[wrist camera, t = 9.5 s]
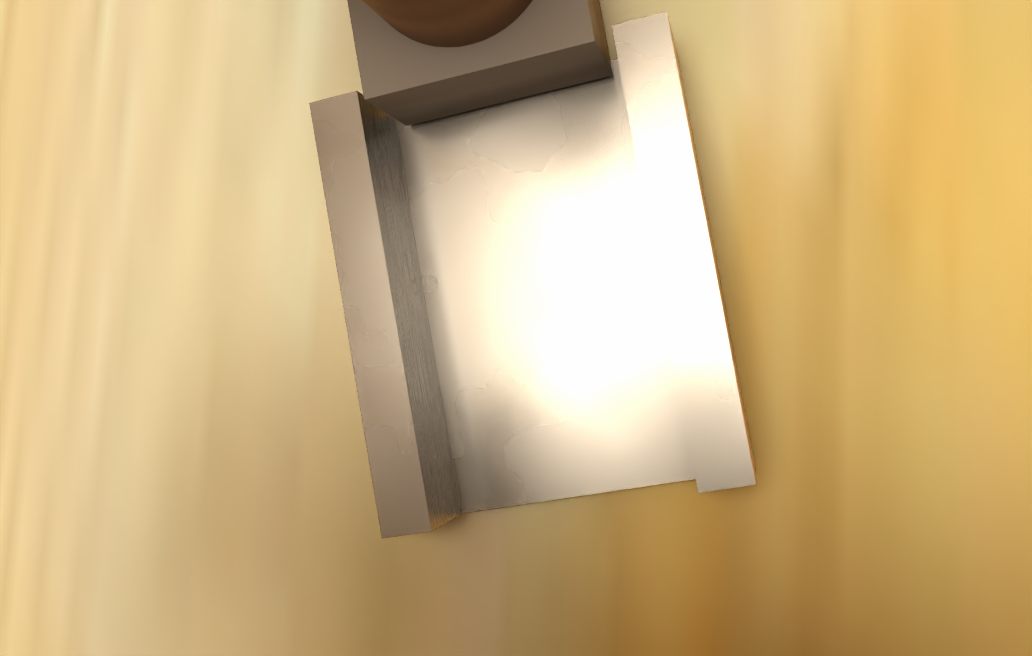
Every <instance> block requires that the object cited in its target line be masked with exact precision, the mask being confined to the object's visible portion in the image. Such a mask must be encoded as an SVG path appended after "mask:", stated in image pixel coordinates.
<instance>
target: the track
mask: <svg viewBox="0 0 1032 656" xmlns="http://www.w3.org/2000/svg"><path fill="white" fill-rule="evenodd" d="M612 30H613V36H614V41H615V46H616V52H617V57H618V59H614V60H610V63H611V69H612V74H613V76H609V77H605V78H601V79H596V80H592V81H588V82H584V83H580V84H576V85H572V86H568V87H564V88H560V89H556V90H552V91H548V92H543V93H539V94H535V95H531V96H527V97H523V98H519V99H515V100H511V101H507V102H503V103H499V104H495V105H490V106H486V107H482V108H478V109H474V110H470V111H466V112H462V113H458V114H454V115H450V116H446V117H442V118H437V119H433V120H429V121H425V122H421V123H417V124H413V125H409V126H406V125H404V124H402V123H401V122H399V121H398V120H396V119H394V118H393V117H391V116H390V115H388V114H386V113H385V112H383V111H382V110H380V109H378V108H377V107H375V106H374V105H372V104H370V103H369V102H367V101H366V100H364V95H362V94H361V93H359V92H358V91H355V92H351V93H347V94H343V95H339V96H335V97H331V98H327V99H324V100H320V101H316V102H312V103H309V104H310V110H311V116H312V122H313V128H314V134H315V140H316V146H317V152H318V158H319V164H320V170H321V176H322V182H323V188H324V194H325V200H326V206H327V212H328V218H329V224H330V230H331V236H332V242H333V248H334V254H335V260H336V266H337V272H338V278H339V284H340V290H341V296H342V302H343V308H344V314H345V320H346V326H347V332H348V338H349V344H350V350H351V356H352V362H353V368H354V374H355V380H356V386H357V392H358V398H359V404H360V410H361V416H362V422H363V428H364V434H365V440H366V446H367V452H368V458H369V464H370V470H371V476H372V482H373V488H374V494H375V500H376V506H377V512H378V518H379V524H380V530H381V536H382V538H389V537H396V536H403V535H410V534H417V533H424V532H431V531H433V530H435V529H436V528H438V527H440V526H441V525H443V524H445V523H447V522H448V521H450V520H452V519H453V518H455V517H457V516H458V515H460V514H462V513H468V512H475V511H482V510H488V509H495V508H502V507H509V506H516V505H522V504H529V503H536V502H543V501H550V500H556V499H563V498H570V497H577V496H584V495H590V494H597V493H604V492H611V491H618V490H624V489H631V488H638V487H645V486H651V485H658V484H665V483H672V482H679V481H685V480H692V479H696V484H697V489H698V493H702V492H709V491H716V490H723V489H729V488H736V487H743V486H750V485H756V468H755V463H754V457H753V452H752V447H751V442H750V436H749V431H748V426H747V420H746V415H745V410H744V404H743V399H742V394H741V389H740V383H739V378H738V373H737V367H736V362H735V357H734V352H733V346H732V341H731V336H730V330H729V325H728V320H727V314H726V309H725V304H724V299H723V293H722V288H721V283H720V277H719V272H718V267H717V262H716V256H715V251H714V246H713V240H712V235H711V230H710V224H709V219H708V214H707V209H706V203H705V198H704V193H703V187H702V182H701V177H700V172H699V166H698V161H697V156H696V150H695V145H694V140H693V134H692V129H691V124H690V119H689V113H688V108H687V103H686V97H685V92H684V87H683V82H682V76H681V71H680V66H679V60H678V55H677V50H676V46H675V42H674V38H673V34H672V30H671V26H670V23H669V19H668V15H667V11H666V12H662V13H658V14H654V15H650V16H646V17H642V18H638V19H635V20H631V21H627V22H623V23H619V24H615V25H612Z"/></svg>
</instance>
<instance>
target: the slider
mask: <svg viewBox="0 0 1032 656" xmlns="http://www.w3.org/2000/svg"><path fill="white" fill-rule="evenodd" d="M347 1H348V7H349V12H350V18H351V24H352V30H353V36H354V42H355V48H356V54H357V60H358V65H359V71H360V77H361V83H362V89H363V95H364V100H366V101H367V102H369V103H370V104H372V105H374V106H375V107H377V108H378V109H380V110H382V111H383V112H385V113H386V114H388V115H390V116H391V117H393V118H394V119H396V120H398V121H399V122H401V123H402V124H404V125H406V126H409V125H413V124H417V123H421V122H425V121H429V120H433V119H437V118H442V117H446V116H450V115H454V114H458V113H462V112H466V111H470V110H474V109H478V108H482V107H486V106H490V105H495V104H499V103H503V102H507V101H511V100H515V99H519V98H523V97H527V96H531V95H535V94H539V93H543V92H548V91H552V90H556V89H560V88H564V87H568V86H572V85H576V84H580V83H584V82H588V81H592V80H596V79H601V78H605V77H609V76H613V74H612V69H611V63H610V58H609V52H608V47H607V41H606V36H605V31H604V25H603V20H602V14H601V9H600V4H599V0H347Z"/></svg>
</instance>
